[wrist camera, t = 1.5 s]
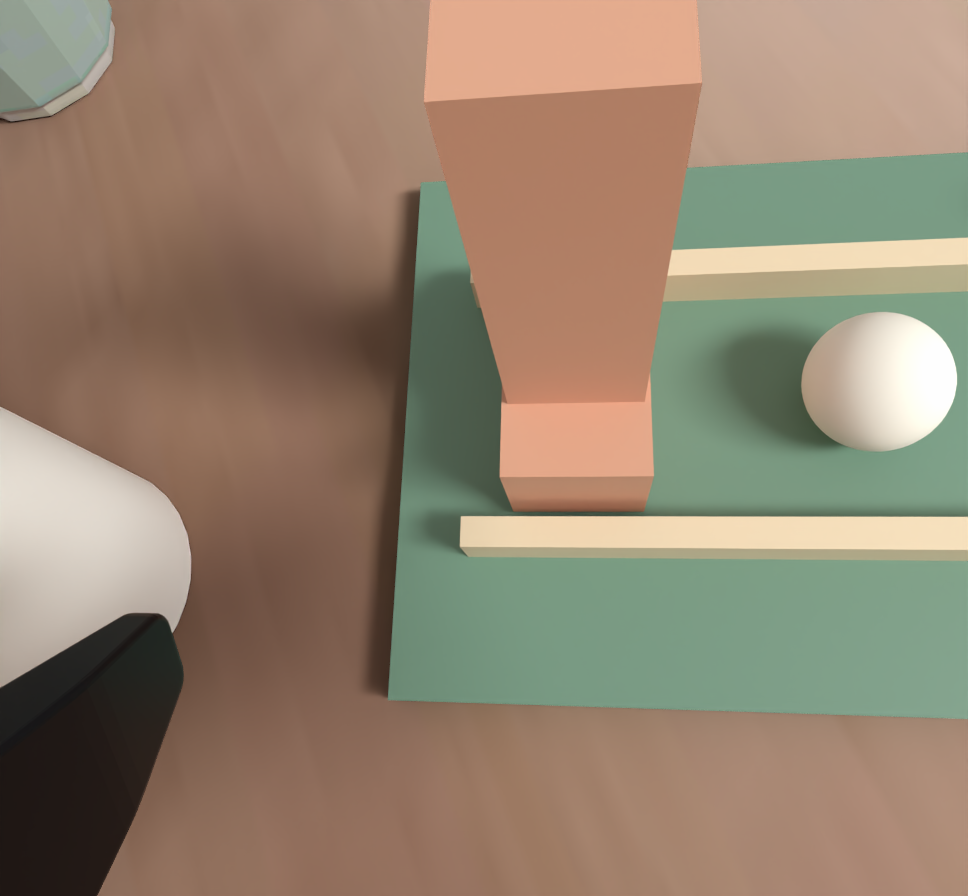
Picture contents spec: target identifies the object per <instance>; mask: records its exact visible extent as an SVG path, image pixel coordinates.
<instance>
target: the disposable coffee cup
mask: <svg viewBox="0 0 968 896" xmlns="http://www.w3.org/2000/svg"><path fill="white" fill-rule="evenodd" d="M111 12H112V8H111V6H110V4H109V2H108V0H0V118H3V119H6V120H8V121H17V120H24V119H31V118H38V117H45V116H52V115H53V114H55V113H57V112H58V111H60V110H62V109H63V108H65V107H67V106H68V105H70V104H72V103H73V102H75V101H77V100H78V99H80V98H82V97H83V96H85V95H87V94H88V93H89V92H90V91H91V90H92V88H93V87H94V85H95V84H96V83H97V81H98V80H99V78H100V77H101V76H102V74H103V73H104V71H105V70H106V69H107V67H108V66H109V65H110V63H111V62H112V55H113V45H114V34H115V28H114V25H113V23H112V21H111Z"/></svg>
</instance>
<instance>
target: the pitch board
mask: <svg viewBox="0 0 968 896" xmlns="http://www.w3.org/2000/svg"><path fill="white" fill-rule="evenodd" d="M873 312H891V313H898V314H903V315H906V316H909V317H912V318H914V319H917V320H919V321H921V322H922V323H924V324H926V325H927V326H929V327H930V328H931V329H933V330H934V331H935V332H936V333H937V334H938V335H939V336H940V337H941V338H942V339H943V341H944V342H945V343H946V345H947V346H948V348H949V349H950V352H951V354H952V356H953V359H954V362H955V366H956V372H957V386H956V392H955V397H954V400H953V403H952V405H951V407H950V409H949V411H948V413H947V414H946V416H945V417H944V419H943V420H942V421H941V423H940V424H939V425H938V426H937V427H936V428H935V429H934V430H933V431H932V432H931V433H929V434H928V435H927V436H925V437H924V438H922V439H920V440H919V441H917V442H915V443H913V444H911V445H908V446H906V447H903V448H899V449H895V450H891V451H882V452H872V451H862V450H857V449H853V448H850V447H847V446H844V445H842V444H840V443H838V442H836V441H834V440H833V439H831V438H830V437H828V436H827V435H826V434H825V433H824V432H822V431H821V430H820V429H819V428H818V426H817V425H816V424H815V423H814V421H813V420H812V419H811V417H810V415H809V413H808V412H807V409H806V407H805V404H804V400H803V396H802V388H801V382H802V372H803V368H804V365H805V362H806V360H807V357H808V355H809V353H810V351H811V350H812V348H813V347H814V345H815V344H816V343H817V341H818V340H819V339H820V338H821V337H822V336H823V335H824V334H825V333H826V332H827V331H829V330H830V329H831V328H833V327H834V326H836V325H837V324H839V323H841V322H842V321H844V320H847V319H849V318H852V317H855V316H857V315H861V314H865V313H873ZM650 383H651V410H652V438H653V465H654V478H653V481H652V485H651V488H650V492H649V496H648V499H647V503H646V506H645V510H644V512H513V509H512V507H511V504H510V502H509V499H508V497H507V494H506V492H505V489H504V487H503V484H502V482H501V479H500V441H501V402H502V382H501V378H500V375H499V371H498V367H497V364H496V360H495V357H494V353H493V349H492V346H491V342H490V339H489V335H488V331H487V328H486V324H485V321H484V317H483V313H482V310H481V306H480V303H479V299H478V295H477V292H476V288H475V285H474V281H473V277H472V274H471V270H470V266H469V263H468V259H467V256H466V252H465V248H464V245H463V241H462V238H461V234H460V230H459V227H458V223H457V220H456V216H455V212H454V209H453V205H452V202H451V198H450V194H449V191H448V187H447V184H446V181H441V182H422V183H421V190H420V206H419V222H418V237H417V253H416V268H415V284H414V300H413V315H412V331H411V346H410V362H409V377H408V393H407V409H406V424H405V440H404V455H403V471H402V487H401V502H400V518H399V533H398V549H397V565H396V580H395V596H394V611H393V627H392V643H391V658H390V674H389V689H388V700H400V701H431V702H462V703H493V704H524V705H554V706H585V707H616V708H647V709H678V710H708V711H739V712H770V713H801V714H832V715H862V716H893V717H924V718H955V719H968V152H967V153H949V154H931V155H912V156H894V157H876V158H858V159H840V160H822V161H804V162H785V163H767V164H749V165H731V166H713V167H695V168H687V169H686V175H685V180H684V186H683V192H682V197H681V203H680V208H679V214H678V219H677V225H676V230H675V236H674V241H673V247H672V253H671V258H670V264H669V269H668V275H667V280H666V286H665V291H664V297H663V303H662V308H661V314H660V319H659V325H658V330H657V336H656V341H655V347H654V353H653V358H652V364H651V369H650Z"/></svg>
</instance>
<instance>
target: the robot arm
mask: <svg viewBox="0 0 968 896" xmlns="http://www.w3.org/2000/svg"><path fill="white" fill-rule="evenodd" d="M183 677H184V673H183V665H182V662H181V659H180V656H179V652H178V649H177V646H176V643H175V640H174V637H173V634H172V631H171V627H170V624H169V622H168V620H167V619H166V618H165V616H163V615H161V614H159V613H128V614H125V615H123V616H121V617H119V618H118V619H116V620H114V621H113V622H111V623H109V624H108V625H106V626H104V627H102V628H101V629H99V630H97V631H96V632H94V633H92V634H90V635H89V636H87V637H85V638H84V639H82V640H80V641H79V642H77V643H75V644H73V645H72V646H70V647H68V648H67V649H65V650H63V651H62V652H60V653H58V654H56V655H55V656H53V657H51V658H50V659H48V660H46V661H45V662H43V663H41V664H39V665H38V666H36V667H34V668H33V669H31V670H29V671H28V672H26V673H24V674H22V675H21V676H19V677H17V678H16V679H14V680H12V681H11V682H9V683H7V684H5V685H4V686H2V687H0V896H97V895H98V893H99V891H100V889H101V887H102V885H103V883H104V880H105V878H106V876H107V874H108V872H109V870H110V868H111V866H112V864H113V862H114V859H115V857H116V855H117V853H118V851H119V849H120V847H121V845H122V843H123V841H124V839H125V836H126V834H127V832H128V830H129V828H130V825H131V823H132V821H133V819H134V817H135V814H136V812H137V810H138V807H139V805H140V802H141V800H142V797H143V795H144V792H145V789H146V787H147V784H148V781H149V778H150V775H151V773H152V770H153V767H154V764H155V762H156V759H157V756H158V753H159V750H160V748H161V745H162V742H163V739H164V736H165V734H166V731H167V728H168V725H169V723H170V720H171V717H172V714H173V711H174V709H175V706H176V703H177V700H178V698H179V695H180V692H181V689H182V685H183Z"/></svg>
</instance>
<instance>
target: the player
mask: <svg viewBox="0 0 968 896" xmlns="http://www.w3.org/2000/svg"><path fill="white" fill-rule="evenodd" d="M701 86H702V74H701V59H700V44H699V29H698V14H697V0H431V1H430V16H429V31H428V47H427V62H426V77H425V93H424V104H425V108H426V111H427V115H428V119H429V122H430V126H431V129H432V133H433V137H434V140H435V144H436V147H437V151H438V155H439V158H440V162H441V166H442V169H443V173H444V176H445V180H446V184H447V187H448V191H449V194H450V198H451V202H452V205H453V209H454V212H455V216H456V220H457V223H458V227H459V230H460V234H461V238H462V241H463V245H464V248H465V252H466V256H467V259H468V263H469V266H470V270H471V274H472V277H473V281H474V285H475V288H476V292H477V295H478V299H479V303H480V306H481V310H482V313H483V317H484V321H485V324H486V328H487V331H488V335H489V339H490V342H491V346H492V349H493V353H494V357H495V360H496V364H497V367H498V371H499V375H500V378H501V382H502V402H501V441H500V479H501V482H502V484H503V487H504V489H505V492H506V494H507V497H508V499H509V502H510V504H511V507H512V509H513V512H644V510H645V506H646V503H647V499H648V496H649V492H650V488H651V485H652V481H653V478H654V465H653V438H652V410H651V383H650V369H651V364H652V358H653V353H654V347H655V341H656V336H657V330H658V325H659V319H660V314H661V308H662V303H663V297H664V291H665V286H666V280H667V275H668V269H669V264H670V258H671V253H672V247H673V241H674V236H675V230H676V225H677V219H678V214H679V208H680V203H681V197H682V192H683V186H684V180H685V175H686V169H687V164H688V158H689V153H690V147H691V142H692V136H693V130H694V125H695V119H696V114H697V108H698V103H699V97H700V92H701Z"/></svg>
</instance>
